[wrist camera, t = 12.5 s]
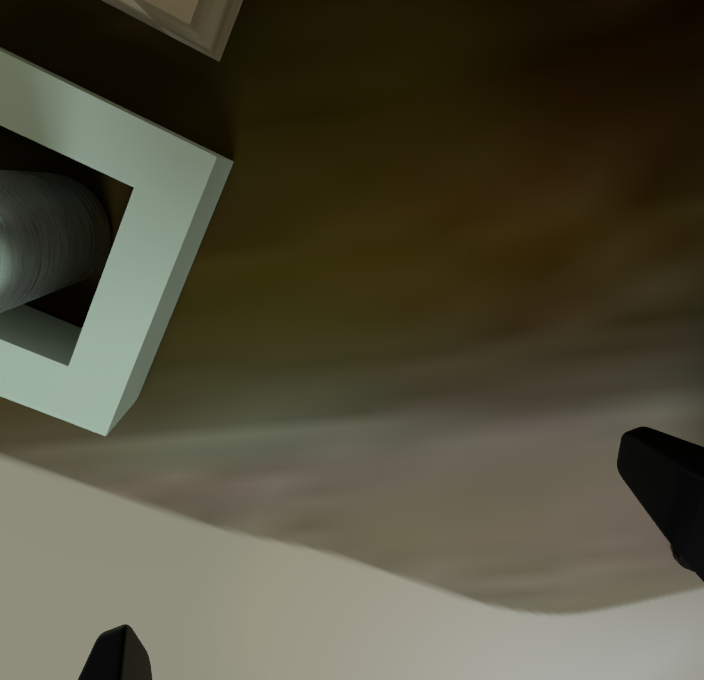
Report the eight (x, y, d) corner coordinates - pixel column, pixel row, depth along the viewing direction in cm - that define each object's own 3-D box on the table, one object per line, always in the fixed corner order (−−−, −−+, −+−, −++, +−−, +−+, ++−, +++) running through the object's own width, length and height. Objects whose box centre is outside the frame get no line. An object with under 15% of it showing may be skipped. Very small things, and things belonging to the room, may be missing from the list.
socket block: (233, 161, 17) (217, 156, 14) (137, 399, 19) (105, 436, 17) (-54, 20, 16) (-137, -17, 13) (-127, 294, 18) (-213, 315, 15)
